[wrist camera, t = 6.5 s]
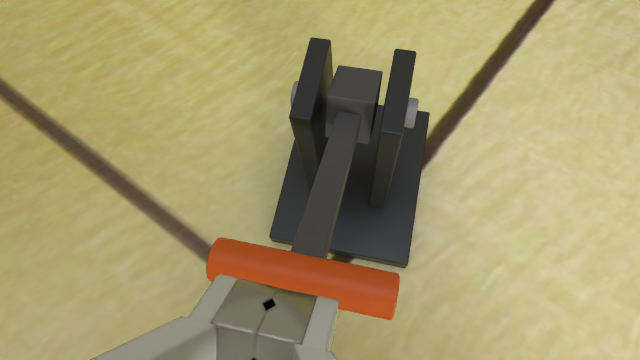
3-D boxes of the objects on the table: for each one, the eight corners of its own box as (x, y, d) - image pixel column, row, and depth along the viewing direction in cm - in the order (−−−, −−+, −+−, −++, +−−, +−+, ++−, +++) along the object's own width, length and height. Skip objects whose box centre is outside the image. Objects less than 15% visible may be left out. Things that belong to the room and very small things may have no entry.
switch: (387, 335, 14) (399, 297, 12) (211, 295, 14) (199, 254, 13) (412, 117, 22) (422, 76, 20) (301, 100, 23) (300, 59, 21)
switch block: (405, 268, 28) (441, 218, 17) (271, 241, 29) (223, 178, 18) (426, 120, 31) (468, -1, 20) (307, 102, 32) (286, -22, 21)
